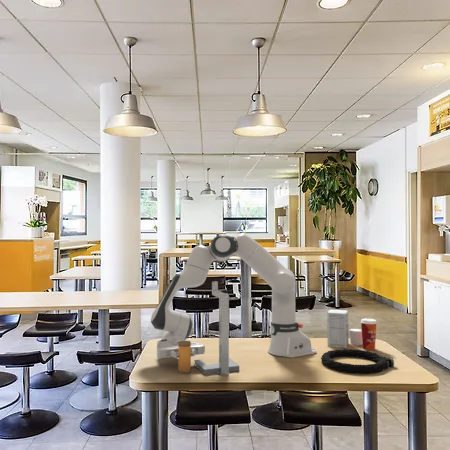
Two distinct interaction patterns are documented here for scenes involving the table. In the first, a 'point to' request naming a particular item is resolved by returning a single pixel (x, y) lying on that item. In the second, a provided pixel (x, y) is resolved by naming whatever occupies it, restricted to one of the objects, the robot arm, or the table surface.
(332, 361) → the cable lock
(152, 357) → the table surface
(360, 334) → the white short cylinder
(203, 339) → the table surface
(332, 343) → the supplement box
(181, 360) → the orange brown canister
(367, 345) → the paper cup
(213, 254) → the robot arm
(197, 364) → the grey u-shaped bracket
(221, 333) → the hook stand
